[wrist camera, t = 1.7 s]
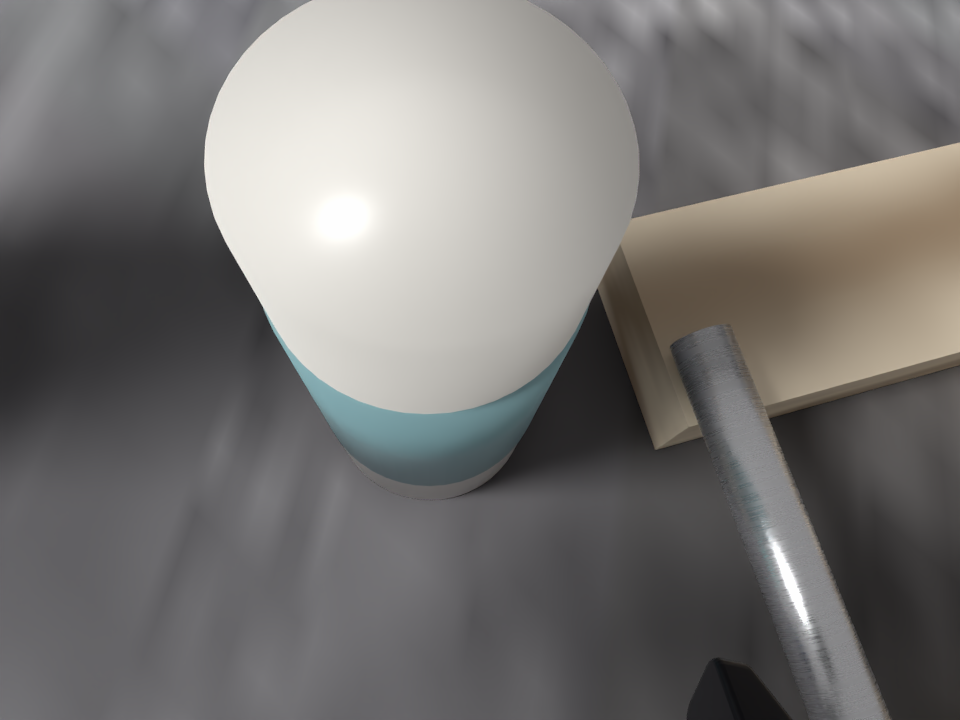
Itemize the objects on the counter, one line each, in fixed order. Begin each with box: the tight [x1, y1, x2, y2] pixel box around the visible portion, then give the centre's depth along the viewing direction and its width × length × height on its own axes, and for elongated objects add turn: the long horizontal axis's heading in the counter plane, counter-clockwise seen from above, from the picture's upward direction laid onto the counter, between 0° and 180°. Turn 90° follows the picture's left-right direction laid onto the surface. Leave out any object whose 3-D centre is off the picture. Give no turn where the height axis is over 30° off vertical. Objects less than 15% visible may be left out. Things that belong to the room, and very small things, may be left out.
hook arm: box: [670, 324, 892, 720], centre depth 17 cm, size 14×2×2 cm, turn 16°
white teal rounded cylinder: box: [204, 0, 640, 500], centre depth 16 cm, size 6×6×13 cm
